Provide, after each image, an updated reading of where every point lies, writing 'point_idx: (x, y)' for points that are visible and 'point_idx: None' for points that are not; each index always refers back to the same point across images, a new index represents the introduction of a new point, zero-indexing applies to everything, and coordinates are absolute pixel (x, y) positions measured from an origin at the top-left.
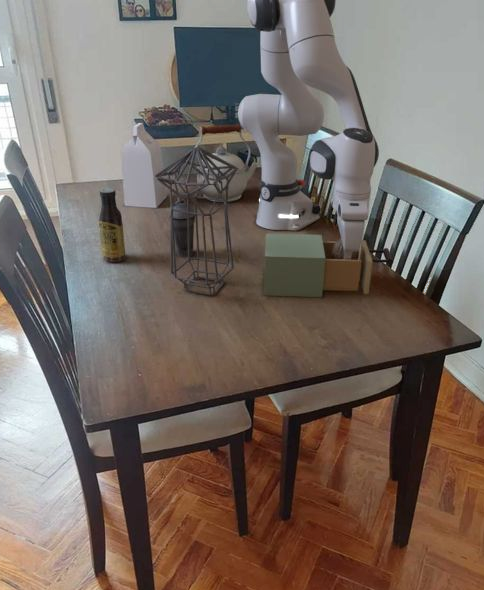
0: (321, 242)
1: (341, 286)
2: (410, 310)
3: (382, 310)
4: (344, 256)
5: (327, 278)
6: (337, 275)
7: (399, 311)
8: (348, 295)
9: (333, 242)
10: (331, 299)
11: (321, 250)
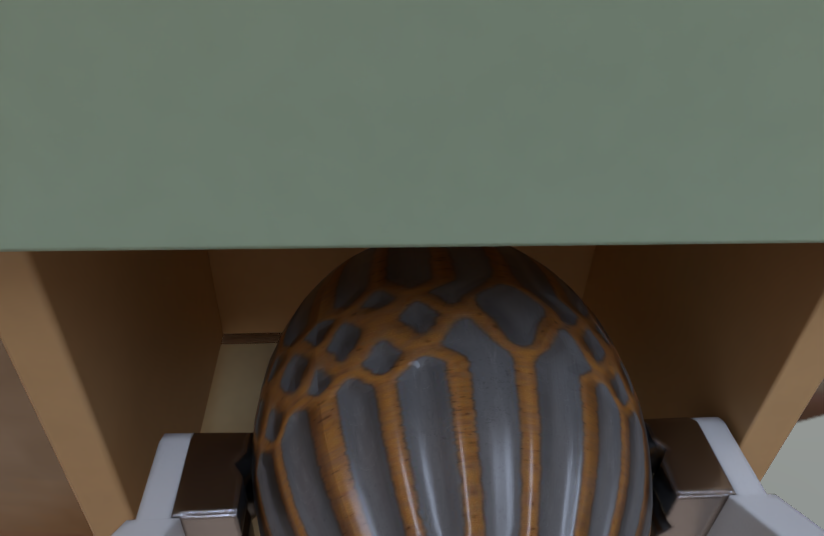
0: (698, 217)
1: None
2: (83, 518)
3: (19, 409)
4: (146, 492)
5: None
6: None
7: (47, 478)
8: None
9: (792, 363)
10: None
11: (181, 191)
